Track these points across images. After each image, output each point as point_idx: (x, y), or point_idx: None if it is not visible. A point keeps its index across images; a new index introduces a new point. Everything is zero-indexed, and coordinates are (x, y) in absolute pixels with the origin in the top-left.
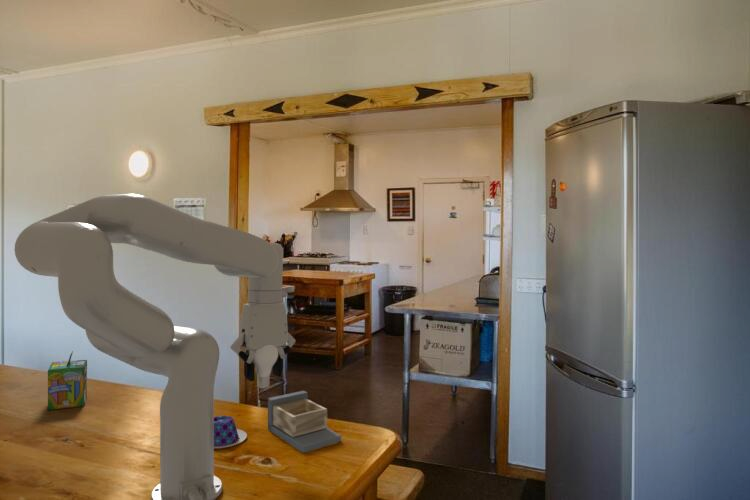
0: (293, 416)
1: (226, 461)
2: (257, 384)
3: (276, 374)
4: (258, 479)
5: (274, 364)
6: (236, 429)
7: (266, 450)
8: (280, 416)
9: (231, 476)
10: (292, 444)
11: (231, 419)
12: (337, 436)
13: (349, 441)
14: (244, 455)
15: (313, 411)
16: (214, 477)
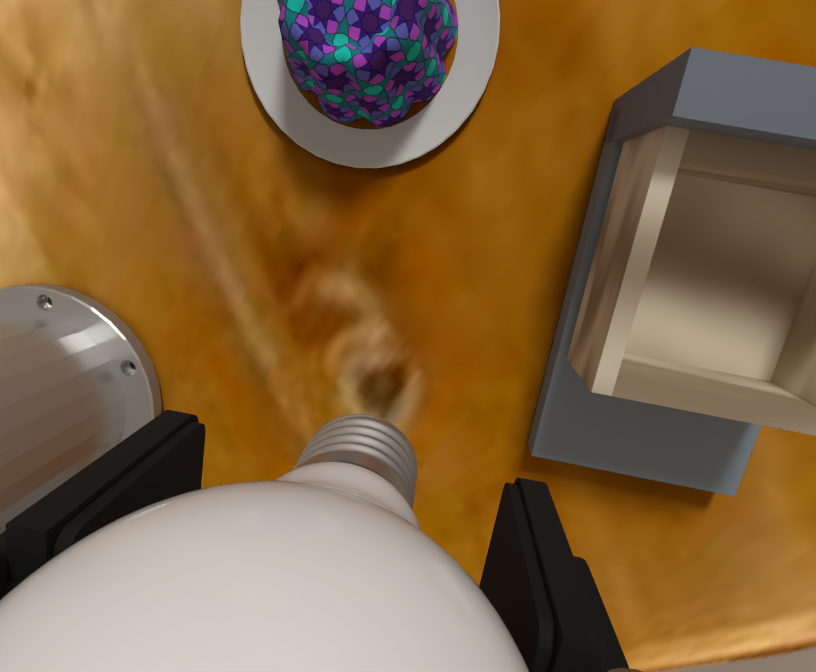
0: (604, 383)
1: (266, 274)
2: (308, 444)
3: (485, 573)
4: (277, 476)
5: (511, 608)
6: (425, 71)
7: (442, 309)
8: (621, 236)
9: (221, 392)
10: (550, 359)
11: (391, 43)
12: (715, 490)
13: (746, 503)
14: (348, 280)
15: (747, 410)
16: (141, 401)
